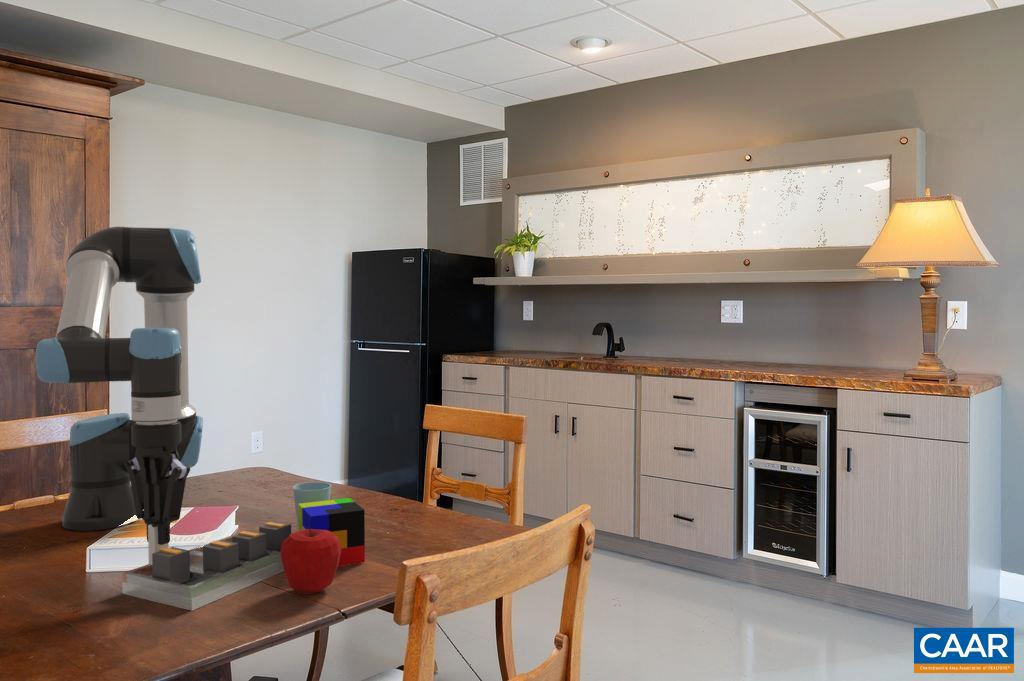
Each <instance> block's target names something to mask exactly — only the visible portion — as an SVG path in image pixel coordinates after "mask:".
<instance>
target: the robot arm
mask: <svg viewBox="0 0 1024 681" xmlns="http://www.w3.org/2000/svg"><path fill="white" fill-rule="evenodd" d="M198 255H199V254H198V250H197V244H196V237H195V235H194V234H193V232H192V231H190V230H189V229H188V230H187V229H179V228H171V227H132V226H131V227H128V226H127V227H126V226H112V227H107V228H103V229H100V230H99V231H98V230H97V231H96V232H94V233H91V234H90V235H88V236H87V237H85V238H84V239H83V240H81V241H80V242H79V243H78V244H77V245H75V247H74V248H73V249H72V251H71V252H70V253H69V256H68V258H67V260H66V264H65V274H66V277H67V279H68V282H67V286H66V291H65V295H64V299H63V300H64V301H63V304H62V309H61V312H60V317H59V320H58V325H57V329H56V333H55V334H56V335H55V337H52V338H43V339H42V340H41V339H40V341H38V343H36V344H37V345H36V350H35V369H36V375H37V377H38V379H39V381H41V382H43V383H48V384H50V383H53V384H57V383H58V384H61V383H62V384H65V385H66V384H67V385H68V384H75V383H76V384H80V383H97V382H98V383H100V382H103V383H105V382H130V388H131V392H130V396H131V397H130V398H131V400H130V402H131V403H130V404H131V405H130V406H131V410H130V411H131V412H130V413H131V416H130V414H129V413H128V412H120V413H118V412H117V413H110V414H103V415H97V416H92V417H87V418H84V419H81V420H78V421H76V422H74V424H72V426H71V427H70V429H69V430H70V431H69V443H68V446H69V456H70V457H69V459H70V462H69V463H70V465H69V466H70V491H69V495H68V498H67V500H66V504H65V507H64V511H63V513H62V514H61V515H62V518H61V522H62V523H61V525H62V528H64V529H66V530H69V531H70V530H71V531H77V532H78V531H83V532H86V531H101V530H109V529H114V528H119V527H118V526H119V525H121V524H123V523H124V522H125V521H127V520H128V519H130V518H131V517H133V516H134V515H136V516H137V518H138V520H141V519H142V520H143V522H144V524H145V525H146V541H147V543H148V545H147V546H148V564H150V565H152V554H153V553H156V552H159V551H160V549H163V548H169V543H170V541H171V523H173V522H176V521H179V520H180V518H181V513H182V506H183V501H184V500H183V499H184V494H185V488H186V482H187V481H186V480H187V477H188V476H189V474H190V472H191V468H193V467H195V466H196V464H197V463H198V462H199V458H200V452H201V446H202V437H203V436H202V435H203V434H202V433H203V428H204V427H203V426H204V418H203V417H202V416H199V415H197V410H196V407H194V405H192V404H191V403H190V400H189V399H190V396H189V393H190V392H189V391H190V390H189V353H188V352H189V350H188V349H189V342H188V341H189V338H188V336H189V335H188V327H189V326H188V299H189V298H190V296H192V295H193V293H195V285H198V284H200V283H201V282H202V275H201V270H200V264H199V263H200V262H199V256H198ZM117 283H135V291H136V293H138V295H139V296H141V297H142V298H143V306H144V307H143V309H144V311H143V312H144V327H139V328H138V327H137V328H134V329H132V330H131V332H130V337H107V338H106V332H107V325H108V318H109V317H108V316H109V309H110V303H111V296H112V290H113V287H114V286H115V285H116V284H117Z"/></svg>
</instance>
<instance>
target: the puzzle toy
mask: <svg viewBox="0 0 1024 681" xmlns="http://www.w3.org/2000/svg"><path fill="white" fill-rule="evenodd" d="M365 513H366V512H365V508H363V507H361V505H359V504H358V503H356V502H355V501H354V500H352V498H350V497H346V498H337V499H331V500H327V501H318V502H309V503H300V504H298V525H297V531H300V530H304V529H309V528H310V529H317V530H327V531H331V532H332V533H333V534H334V535H335V536H336V537H337V538H338V540H339V543H340V546H341V549H342V550H341V554H340V559H339V564H338V567H342V565H345V566H349V565H348V564H351V565H355V564H354V563H358V564H362V563H361V562H366V561H365V559H366V558H365V557H366V554H365V553H366V550H365V549H366V548H365V546H366V541H365V538H366V533H365V532H366V531H365V518H366V517H365Z"/></svg>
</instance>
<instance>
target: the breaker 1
mask: <svg viewBox="0 0 1024 681" xmlns="http://www.w3.org/2000/svg"><path fill="white" fill-rule="evenodd" d="M190 550H191V549H185V548H180V547H175V546H171V547H168V548H163V549H160V551H159V552H156V553H153V554H152V568H153V578H158V579H162V580H166V581H171V582H175V583H180V584H181V583H184V582H186V581H189V580H190Z"/></svg>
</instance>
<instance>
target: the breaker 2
mask: <svg viewBox="0 0 1024 681" xmlns="http://www.w3.org/2000/svg"><path fill="white" fill-rule="evenodd" d="M219 540H220V539H219ZM209 543H210V544H209ZM209 543H208V544H209V545H206V544H205V545H206V546H203V545H202V546H203V569H204V570H209V571H214V572H219V573H225V572H227V571H230V570H232V569H235V568H237V567H239V554H238V543H234V542H228V541H223V540H220V541H217V540H214V541H211V542H209Z"/></svg>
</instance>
